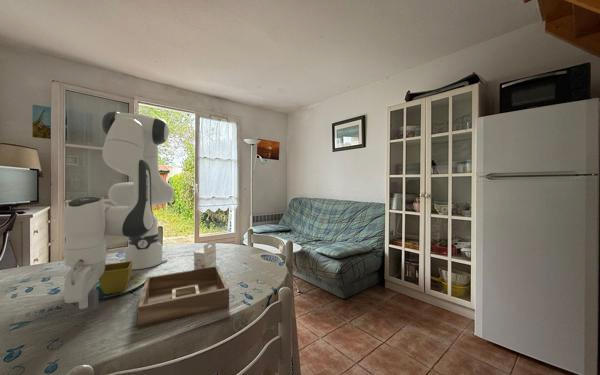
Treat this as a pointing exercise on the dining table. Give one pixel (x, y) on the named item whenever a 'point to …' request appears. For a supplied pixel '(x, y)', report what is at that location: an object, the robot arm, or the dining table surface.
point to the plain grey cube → (92, 302)
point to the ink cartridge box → (205, 256)
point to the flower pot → (115, 277)
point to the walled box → (182, 296)
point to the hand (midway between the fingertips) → (87, 302)
